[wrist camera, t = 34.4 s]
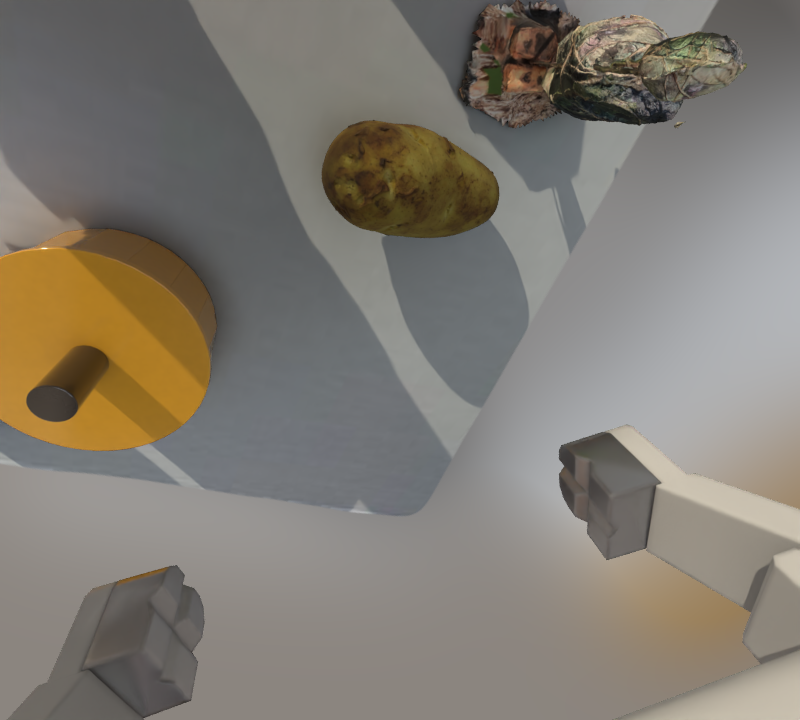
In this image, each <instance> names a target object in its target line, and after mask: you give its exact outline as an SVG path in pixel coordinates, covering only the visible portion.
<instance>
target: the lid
mask: <svg viewBox="0 0 800 720" xmlns="http://www.w3.org/2000/svg"><path fill="white" fill-rule="evenodd" d="M210 376H211V353H210V348H209V343H208V340H207V338H206V335H205V332H204V330H203V328H202V326H201V324H200V322H199V320H198V318H197V317H196V316H195V314H194V313H193V311H192V310H191V308H190V307H189V306H188V305H187V303H186V302H185V301H184V300H183V299H182V298H181V297H180V296H179V295H178V294H177V293H176V292H175V291H174V290H173V289H172V288H171V287H169V286H168V285H167V284H166V283H165V282H163V281H162V280H160V279H159V278H158V277H156V276H155V275H153V274H152V273H150V272H148V271H146V270H145V269H143V268H141V267H139V266H138V265H136V264H133V263H131V262H129V261H126V260H124V259H122V258H120V257H117V256H113V255H110V254H107V253H104V252H101V251H96V250H91V249H86V248H80V247H70V246H42V247H35V248H27V249H23V250H19V251H16V252H12V253H9V254H6V255H4V256H2V257H0V420H2V421H3V422H5V423H6V424H8V425H10V426H12V427H13V428H15V429H17V430H19V431H21V432H23V433H25V434H27V435H30V436H32V437H34V438H37V439H40V440H43V441H45V442H48V443H52V444H56V445H59V446H63V447H68V448H74V449H80V450H92V451H113V450H123V449H129V448H134V447H139V446H142V445H146V444H149V443H152V442H155V441H157V440H159V439H161V438H164V437H166V436H167V435H169V434H171V433H172V432H174V431H176V430H177V429H178V428H180V427H181V426H182V425H183V424H185V423H186V422H187V421H188V420H189V419H190V418H191V417H192V416H193V415H194V413H195V412H196V410H197V409H198V408H199V406H200V405H201V403H202V401H203V399H204V397H205V395H206V392H207V388H208V385H209V382H210Z"/></svg>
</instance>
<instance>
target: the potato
mask: <svg viewBox="0 0 800 720" xmlns="http://www.w3.org/2000/svg"><path fill="white" fill-rule="evenodd" d="M322 182H323V186H324V190H325V193H326V195H327V197H328V199H329V200H330V202H331V204H332V205H333V206H334V207H335V209H336V210H337V211H338V212H339V213H340V214H341V215H342V216H343V217H344V218H345V219H346V220H347V221H349V222H350V223H352V224H353V225H355V226H357V227H359V228H362V229H366V230H370V231H376V232H379V233H382V234H385V235H394V236H405V237H415V238H437V237H446V236H451V235H456V234H459V233H462V232H465V231H468V230H470V229H473V228H475V227H477V226H479V225H481V224H483V223H484V222H486V221H487V220H488V219H489V218H490V217H491V216H492V215H493V214H494V212H495V210H496V208H497V205H498V200H499V186H498V183H497V180H496V178H495V176H494V175H493V172H492V171H490V170H489V169H488V168H487V167H486V166H485V165H483V164H482V163H481V162H480V161H478V160H477V159H475V158H474V157H472V156H471V155H469V154H468V153H466V152H465V151H464V150H462V149H461V148H459V147H458V146H456V145H454V144H453V143H451V142H450V141H448V140H447V138H445V137H441V136H440V135H438V134H436V133H435V132H433V131H430V130H428V129H425V128H422V127H419V126H415V125H408V124H392V123H386V122H381V121H375V120H373V121H363V122H359V123H356V124H353V125H350V126H348V128H347V129H345V130H343V131H342V132H341V133H340V134H339V135H338V136H337V137H336V138H335V139H334V141H333V142H332V144H331V145H330V147H329V149H328V151H327V154H326V156H325V160H324V163H323V168H322Z"/></svg>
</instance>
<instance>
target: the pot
mask: <svg viewBox="0 0 800 720" xmlns="http://www.w3.org/2000/svg"><path fill="white" fill-rule="evenodd" d="M42 246H70V247H80V248H86V249H91V250H96V251H101V252H104V253H107V254H110V255H113V256H117V257H120V258H122V259H124V260H126V261H129V262H131V263H133V264H136V265H138V266H139V267H141V268H143V269H145V270H146V271H148V272H150V273H152V274H153V275H155V276H156V277H158V278H159V279H160V280H162V281H163V282H165V283H166V284H167V285H168V286H169V287H171V288H172V289H173V290H174V291H175V292H176V293H177V294H178V295H179V296H180V297H181V298H182V299H183V300H184V301H185V302H186V303H187V305H188V306H189V307H190V308H191V310H192V311H193V313H194V314H195V316H196V317H197V318H198V320H199V322H200V324H201V326H202V328H203V330H204V332H205V335H206V338H207V340H208V343H209V348H210V353H212V349H213V344H214V340H215V334H216V330H217V323H216V316H215V310H214V306H213V303H212V300H211V297H210V295H209V293H208V291H207V289H206V287H205V286H204V284H203V283H202V281H201V280H200V278H199V277H198V276H197V274H196V273H195V272H194V271H193V270H192V269H191V268H190V267H189V266H188V265H187V264H186V263H185V262H184V261H183V260H182V259H181V258H179V257H178V256H177V255H175V254H174V253H173V252H171V251H170V250H168V249H167V248H165V247H163V246H162V245H160V244H158V243H156V242H154V241H152V240H149V239H147V238H145V237H142V236H139V235H136V234H133V233H129V232H124V231H120V230H112V229H84V230H77V231H67V232H64V233H62V234H60V235H58V236H56V237H54V238H52V239H50V240H48V241H46V242H44V243H42V244H40V245H38V246H36V247H42ZM34 248H35V247H34Z"/></svg>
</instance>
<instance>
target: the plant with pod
mask: <svg viewBox="0 0 800 720" xmlns="http://www.w3.org/2000/svg"><path fill="white" fill-rule="evenodd" d="M480 16H482V17H485V18H484V19H481V20H478V21H477V23H478V26H479V30H477V31H475V32H473V34H474V35H476V36H478V37H480V38H482V39H481V40H480V41H478V42H476V43H474V44H472V45H473V46H475V47H477V48H479V49H478V50H475V51H472V58H473V61H467V63H468V67H469V68H468V70H467V71H466V72H467V73H468V74H469V75H468V76H465V78H466V79H467V80H462V82H463V86H462V87H461V88H460V89H459V90H460V93H461V97H462V98H463V99H464V101H463V102H466V106H467V105H468V104H469V105H470V106H473V108H474V107H475V109H478V108H479V109H480V111H484V112H485V113H486V114H489V115H490V116H492V117H494V118H496V119H497V121H498V122H499V120H500V118H501V119H502V125H503V126H504V125H505V123H506V122H507V120H508V123H509V127H512V128H517V126H518V124H519V127H520V126H521V127H522V124H523V125H524V126H526V124H529V123H530V121H531V122H532V119H533V120H535V121H537V120H538V119H541V120H542V121H544V120H543V118H547V117H550V114H551V115H553V116H554V114H556V115H557V112H559V113H561V110H562V111H564V112H565V113H567V114H569V115H571V116H573V117H575V118H578V119H581V120H589V121H591V120H592V121H598V120H599V121H607V122H622V123H626V124H634V125H636V124H637V125H641V124H646V123H649V124H650V123H657V122H665V121H667V120H672V119H673V118H674V117H675V115H676V113H677V112H678V110H679V108H680V107H681V104H682V103H683V99H691V98H695V97H697V96H701V95H705V94H708V93H711V92H713V91H716V90H718V89H721V88H724V87H726V86H728V85H729V84H730V83H731V82H733V81H734V80H735V79H736V78H737V76H738V75H739V74H740V73H741V72H743V71H744V69H745V68H746V65H747V64H746V63H744V64H743V63H742V50H741V49H740V47H739V44H738V42H736V41H734V40H732V39H730V38H728V37H727V36H721V35H719V34H715V33H703V32H699V31H698V32H695V33H689V34H687V35H684V36H679V37H674V38H669V37H668V35H667V33H665V32H664V30H663V29H661V28H660V27H659V26H657V25H656V23H653V22H652V21H650V20H647V19H646V18H644V17H642V16H637V15H631V16H630V18H626V19H625V16H626V15H624V16H622V17H613V18H610V19H607V20H601V21H599V22H593V23H588V24H587V25H586V26H584V27H583V26H580V25H578V23H579V22H580V21H579V18H578V19H576V17H575V16H574V18H572V15H571V17H570V12H569V14H568V16H567V14H566V12H565V13H564V14H563V15H562V11H560V12H559V8H557V7H556V4H554V5H552V6H550V4H549V3H547V2H546V0H544V2H541V1H540V5H539V4H538V2H537V3H536V4H535V5H533V4H532V3H531V2H529V4H528V5H527V7H525V6H524V5H523V4H522V3H521V2H520V1H519V0H516V1H515V2H514V3H513V4H512V5H511V6H510V7H508V6H507V5H505V4H503V6H502V8H501V10H500V7H499V4H498V5H496V6H492V5H491V4H489V5H488V6H487V7H486V9H485V10H484V11H483V12H482V13H481V14H480ZM556 111H557V112H556ZM561 114H562V113H561ZM682 123H683V122H678V123H676V125H675V126H674V127H675V128H678V127H679V126H680V125H681V124H682Z"/></svg>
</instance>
